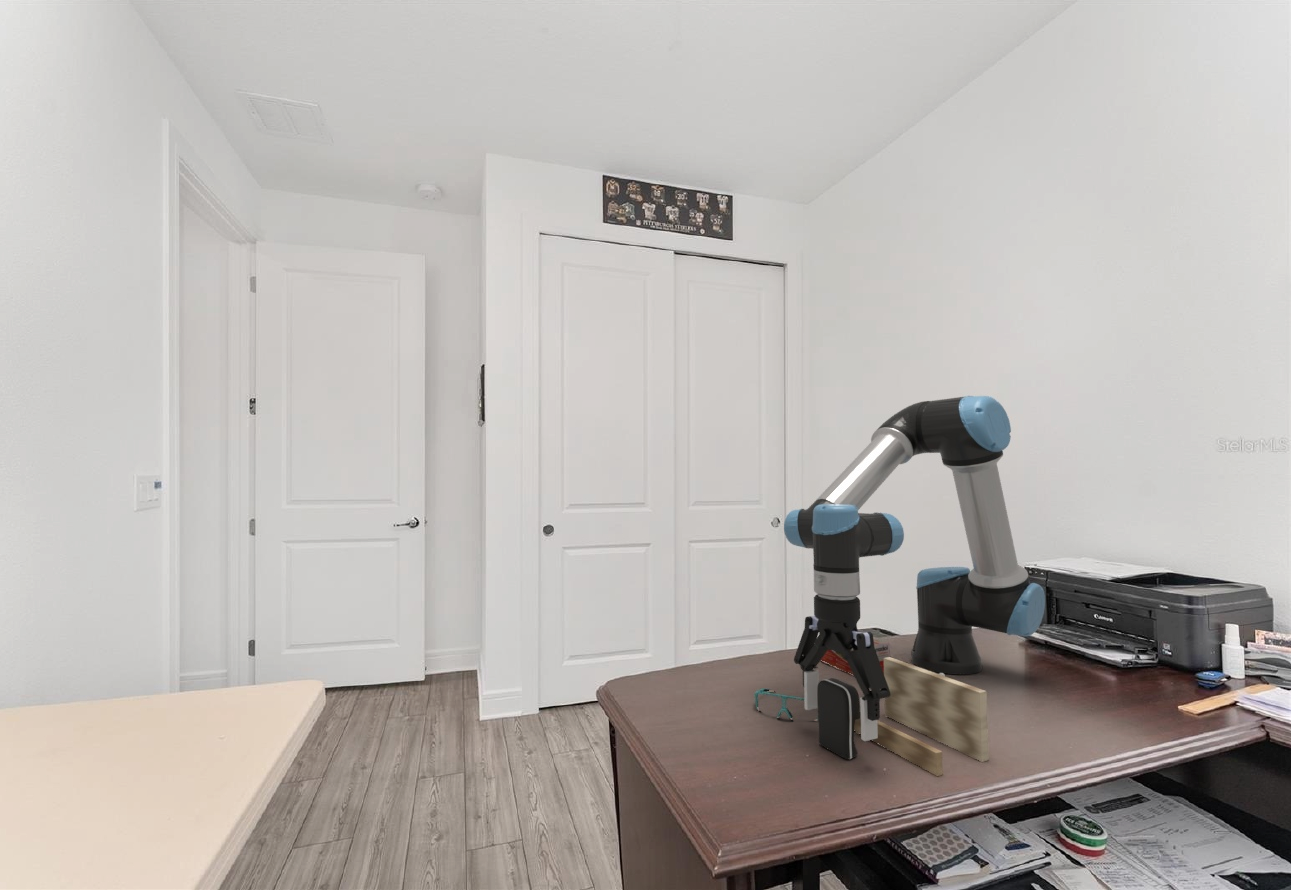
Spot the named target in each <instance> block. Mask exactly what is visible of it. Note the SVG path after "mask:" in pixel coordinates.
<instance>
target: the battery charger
mask: <svg viewBox="0 0 1291 890" xmlns="http://www.w3.org/2000/svg"><path fill="white" fill-rule="evenodd" d="M817 705H818V708H817V717H818V721H817V722H818V744H819V743H820V744H821V745H820V744H819V745H820V746H822V745H823V746H824V747H823V746H822V747H823V748H825V747H826V748H828V749H830V750H831V751H833V752H834V753H833V752H832V753H833V754H835V753H836V754H835V755H837V754H838V755H837V756H839V755H840V756H839V757H841V758H843V759H845V760H852V759H853V758H855V757H857V755H858V750H857V747H856V745H855V732H854V725H855V720H857V719H859V718H860V712H861V703H860V695H859V692H858V689H857V688H856V687H855V686H853V685H851V684H849V683H847V682H845V681H842V680H840V679H837V678H829V679H828V678H827V679H822V680H819V683H818V687H817ZM826 748H825V749H826ZM828 749H827V750H828ZM830 750H829V751H830ZM831 751H830V752H831Z"/></svg>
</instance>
